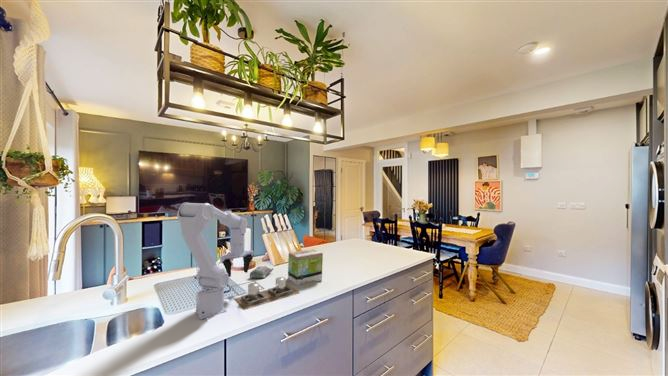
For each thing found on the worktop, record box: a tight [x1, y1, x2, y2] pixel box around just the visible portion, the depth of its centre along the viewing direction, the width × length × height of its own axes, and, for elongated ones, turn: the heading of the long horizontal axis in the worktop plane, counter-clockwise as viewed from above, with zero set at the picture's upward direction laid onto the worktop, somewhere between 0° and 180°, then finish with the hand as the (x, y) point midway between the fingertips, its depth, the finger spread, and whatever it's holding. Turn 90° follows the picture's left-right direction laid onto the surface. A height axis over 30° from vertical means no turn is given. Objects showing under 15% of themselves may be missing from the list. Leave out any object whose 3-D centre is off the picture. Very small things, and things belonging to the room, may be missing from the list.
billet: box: [275, 276, 287, 294], centre depth 113 cm, size 4×4×6 cm
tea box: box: [287, 248, 324, 285], centre depth 130 cm, size 15×10×15 cm, turn 129°
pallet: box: [233, 284, 300, 311], centre depth 109 cm, size 25×12×3 cm, turn 129°
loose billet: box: [247, 282, 260, 301], centre depth 106 cm, size 4×4×6 cm
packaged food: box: [249, 265, 274, 279], centre depth 136 cm, size 9×12×5 cm
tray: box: [229, 280, 265, 296], centre depth 118 cm, size 12×12×2 cm
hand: (237, 274), depth 113 cm, fingers open, 7 cm apart
